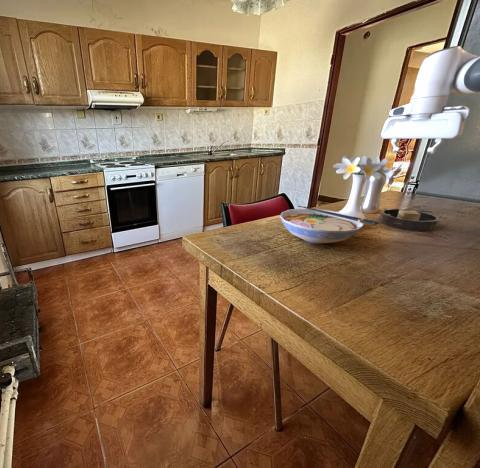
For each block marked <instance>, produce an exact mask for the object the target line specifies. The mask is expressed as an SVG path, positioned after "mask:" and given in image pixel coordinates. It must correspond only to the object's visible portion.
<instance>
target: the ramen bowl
mask: <svg viewBox="0 0 480 468" xmlns="http://www.w3.org/2000/svg"><path fill="white" fill-rule="evenodd" d="M297 207H298V208H293V209H287V210H285V211H282V212H281V213H280V215H279V217H280V220H281V222H282V224H283V225H284V227H285V228H286V230H287V231H289V233H291V234H292V235H293V236H294V237H297V238H299V239H301V240H303V241H305V242H307V243H311V244H316V245H324V244H332V243H339V242H342V241H346V240H347V239H350V237H352V236H353V235H355V234H356V233H357V232H358V231H360V230H361V229H362V228H363V226H364V224H363V223H365V224H366V225H370V226H376V225H379V222H380V221H377V220H371V219H367V218H366V219H362V218H357V217H353V216H350V215H347V214H344V213H340V212H339V211H333V210H328V209H319V208H313V207H308V206H302V205H297Z"/></svg>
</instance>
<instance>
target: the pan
mask: <svg viewBox="0 0 480 468" xmlns="http://www.w3.org/2000/svg"><path fill="white" fill-rule="evenodd" d="M384 209H385V210H384ZM384 209H382V210H381V211H380V214H379V218H378V222H380V224H382V225H385V226H387V227H391V228H394V229H400V230H404V231H405V230H406V231H411V232H432V231H435V230H437V228H438V225H439V222H440V217H438V216H437V215H435V214H432V213H430V212H420V211H421V210H416V212H418V213H419V214H421V215H420V218H419V221H418V220H409V219H402V218H397V216H398V213H399V210H407V209H405V208H384ZM409 210H410V211H414V210H415V209H414V210H413V209H409Z"/></svg>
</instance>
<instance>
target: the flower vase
mask: <svg viewBox="0 0 480 468" xmlns="http://www.w3.org/2000/svg"><path fill="white" fill-rule="evenodd" d="M359 162H360V163H359ZM387 164H388V159H387V158H383V159H382V160H381V159H380V157H379V156H377V157H376V160H375V161H373V160H372V158H371V157H367V156H366V155H364V156H362V157H361V158H360V157H359V156H353V157H351V158H350V159H349V156H348V155H347V154H346V155H345V154H344V155H343V157H342V159H341V162H340V163H335V164H333V166H332V168H333V169H336V171H335V173H336V174H343V175H342V176H343V180H347V179H349V177H350V176H351V175H352V187H351V191H350V194H349V198H348V200H347V202H346V204H345V206H344V207H343V208H342V209H340V210H338V212H340V213H344V214H347V215H350V216H353V217H357V218H362V219H367V217H366V215H365V213H364V212H362V211H361V208H360V204H361V197H362V193H363V188H364V186H365V184H366V181H367V180H369V179H370V177H371V176H372V177H374V178H376V179H380V175H379V174H378V173H380V174H381V175H382V176H384V177H385V178H386V182H385V188H387V187H388V186H389V185H390V186H392V185H393V183H394V181H395V180H394V179H395V178H394V177H396V176H398V175H399V174H400V173H401V171H402V168H401V167H402V166H403V163H401V164H399V165H398V166H397V167H394V168H393V169H392V170H391V169H390V168H389V167H387ZM385 166H386V167H385ZM383 167H385V168H383ZM400 168H401V169H400ZM365 224H366V223H363V225H365Z"/></svg>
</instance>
